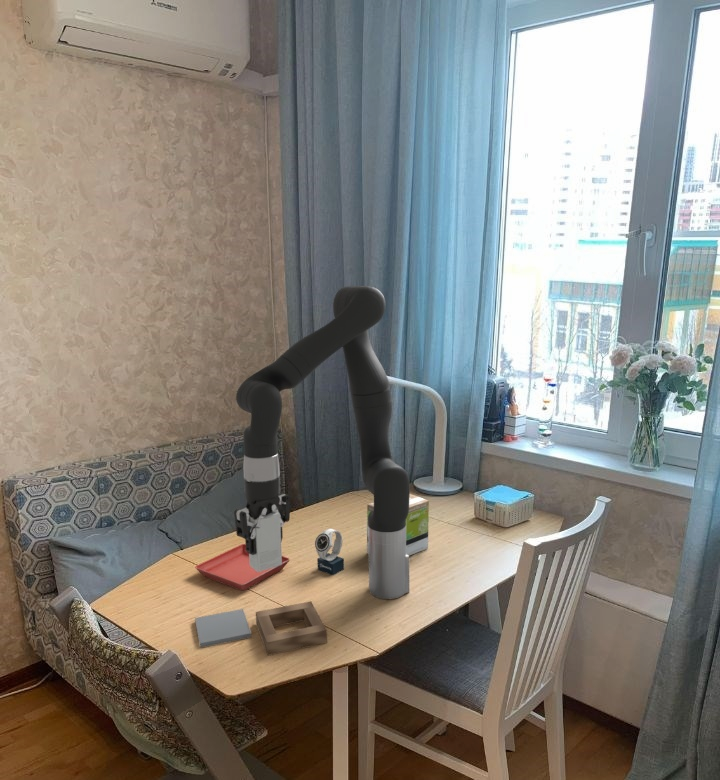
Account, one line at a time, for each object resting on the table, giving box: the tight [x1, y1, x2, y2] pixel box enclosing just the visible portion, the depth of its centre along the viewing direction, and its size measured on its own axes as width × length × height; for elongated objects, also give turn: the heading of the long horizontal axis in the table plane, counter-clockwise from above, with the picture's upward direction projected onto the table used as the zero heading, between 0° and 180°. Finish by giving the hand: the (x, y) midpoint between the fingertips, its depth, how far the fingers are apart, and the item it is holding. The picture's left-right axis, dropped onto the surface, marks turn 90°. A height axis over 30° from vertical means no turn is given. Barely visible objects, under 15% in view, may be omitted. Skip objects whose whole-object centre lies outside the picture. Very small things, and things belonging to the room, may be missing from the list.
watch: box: [314, 528, 345, 576], centre depth 176 cm, size 6×8×11 cm
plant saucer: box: [195, 543, 291, 591], centre depth 177 cm, size 18×18×3 cm
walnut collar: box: [255, 601, 328, 656], centre depth 148 cm, size 13×13×3 cm
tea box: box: [366, 493, 430, 557], centre depth 186 cm, size 15×10×15 cm, turn 131°
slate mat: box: [194, 608, 252, 648], centre depth 150 cm, size 11×11×1 cm
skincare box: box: [247, 512, 283, 572], centre depth 144 cm, size 6×4×12 cm
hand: (264, 547), depth 144 cm, fingers closed on skincare box, 6 cm apart
